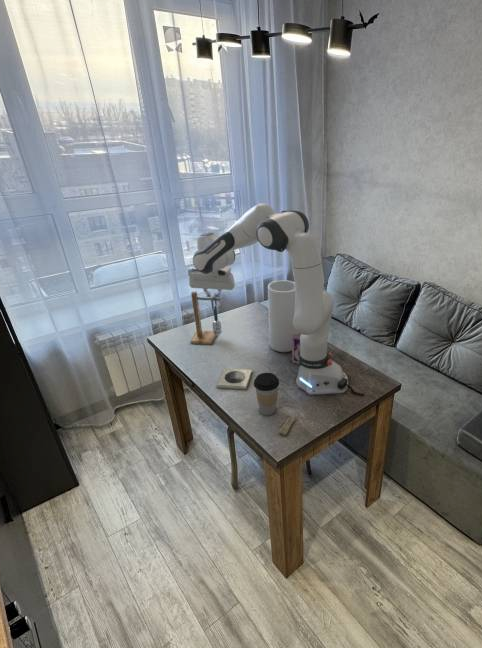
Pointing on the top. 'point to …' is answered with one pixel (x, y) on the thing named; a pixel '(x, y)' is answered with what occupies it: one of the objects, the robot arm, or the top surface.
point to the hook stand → (200, 335)
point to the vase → (281, 314)
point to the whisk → (215, 317)
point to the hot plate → (234, 378)
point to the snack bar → (287, 425)
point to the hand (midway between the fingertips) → (213, 296)
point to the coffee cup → (267, 392)
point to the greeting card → (295, 348)
